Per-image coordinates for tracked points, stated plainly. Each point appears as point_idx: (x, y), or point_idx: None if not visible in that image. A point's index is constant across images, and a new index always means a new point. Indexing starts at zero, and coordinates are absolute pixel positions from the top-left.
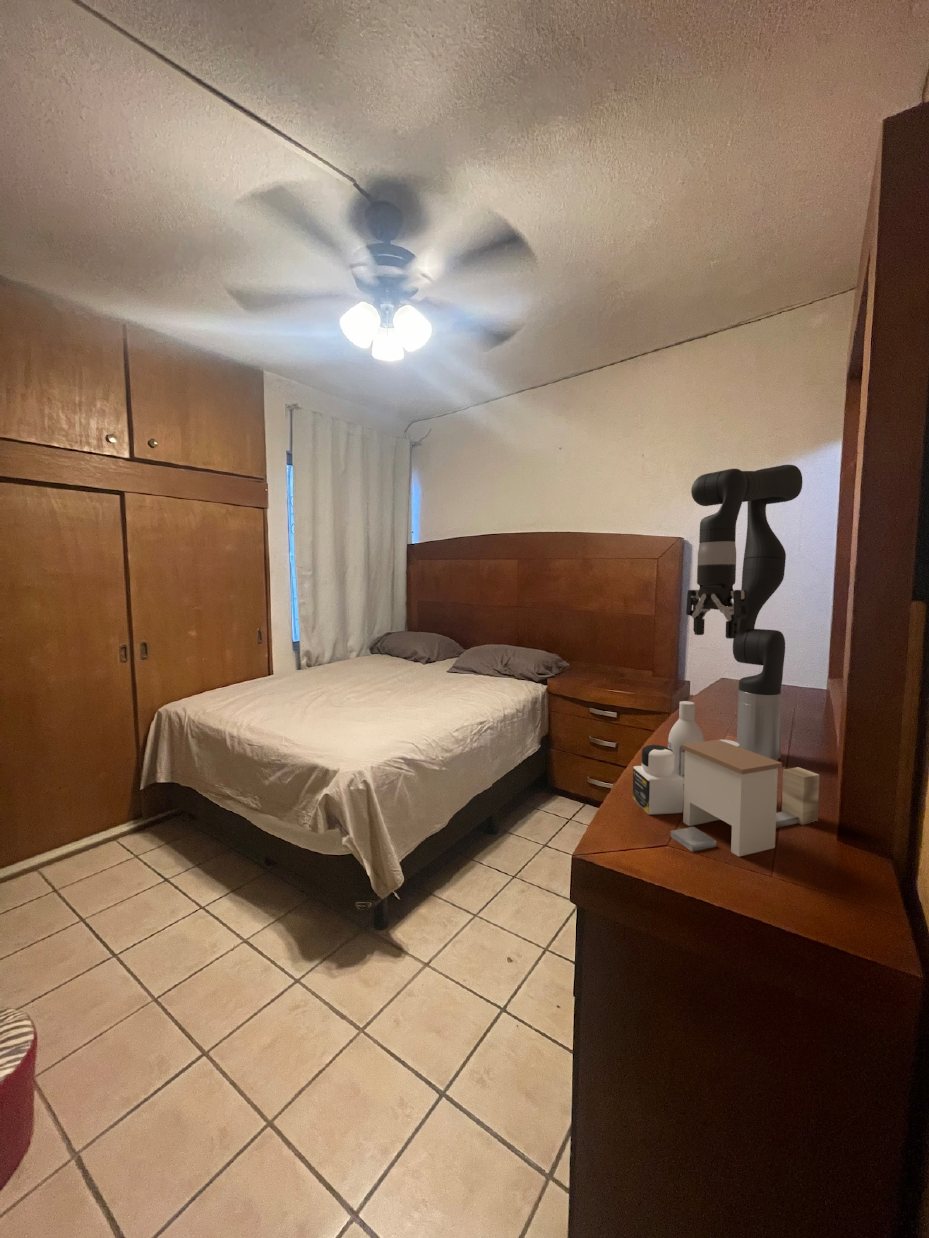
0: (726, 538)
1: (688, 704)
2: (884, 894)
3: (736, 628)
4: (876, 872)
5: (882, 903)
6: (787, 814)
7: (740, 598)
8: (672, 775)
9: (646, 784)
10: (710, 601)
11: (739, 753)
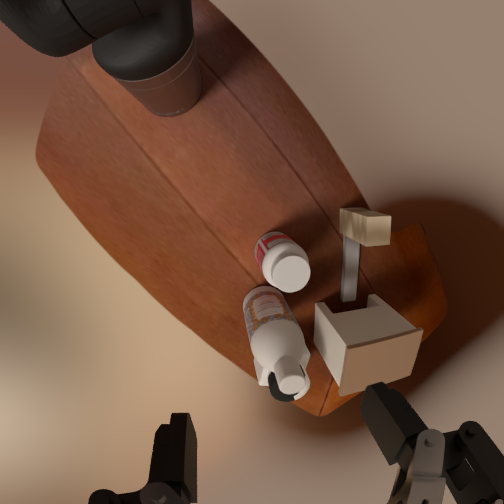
0: None
1: (302, 388)
2: (430, 267)
3: (410, 414)
4: (420, 246)
5: (432, 278)
6: (352, 239)
7: (494, 501)
8: (302, 363)
9: None
10: None
11: (389, 354)
